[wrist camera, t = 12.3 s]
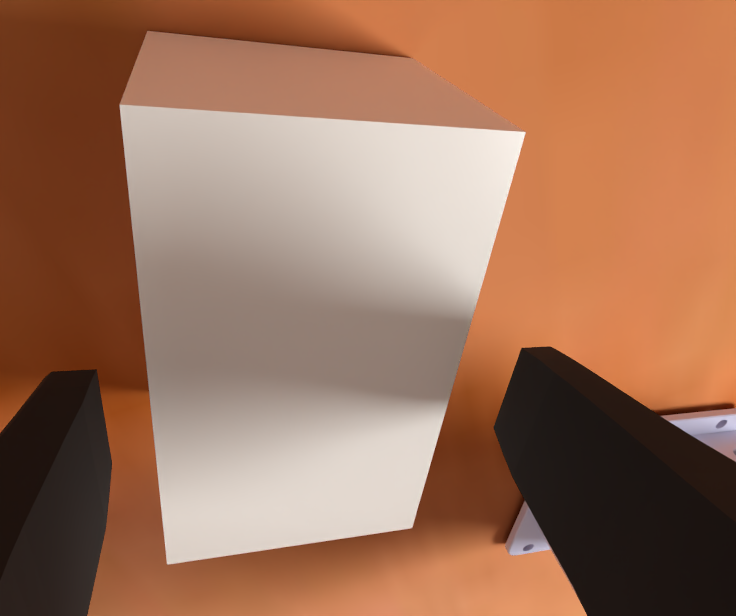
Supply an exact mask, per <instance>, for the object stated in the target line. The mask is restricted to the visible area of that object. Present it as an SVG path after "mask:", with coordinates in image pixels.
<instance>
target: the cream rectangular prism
mask: <svg viewBox="0 0 736 616" xmlns="http://www.w3.org/2000/svg"><path fill="white" fill-rule="evenodd" d="M119 105H120V115H121V124H122V134H123V144H124V153H125V163H126V172H127V182H128V192H129V201H130V211H131V221H132V230H133V240H134V250H135V259H136V269H137V279H138V288H139V298H140V308H141V317H142V327H143V337H144V346H145V356H146V366H147V375H148V385H149V394H150V404H151V414H152V423H153V433H154V443H155V452H156V462H157V472H158V481H159V491H160V501H161V510H162V520H163V530H164V539H165V549H166V559H167V565H168V564H175V563H182V562H188V561H195V560H202V559H209V558H215V557H222V556H229V555H235V554H242V553H249V552H256V551H262V550H269V549H276V548H282V547H289V546H296V545H303V544H309V543H316V542H323V541H329V540H336V539H343V538H350V537H356V536H363V535H370V534H376V533H383V532H390V531H397V530H403V529H410V528H412V527H413V523H414V520H415V516H416V513H417V509H418V506H419V502H420V499H421V495H422V492H423V489H424V485H425V482H426V478H427V475H428V471H429V468H430V464H431V461H432V457H433V454H434V450H435V447H436V443H437V440H438V436H439V433H440V429H441V426H442V422H443V419H444V415H445V412H446V408H447V405H448V401H449V398H450V394H451V391H452V387H453V384H454V380H455V377H456V373H457V370H458V366H459V363H460V359H461V356H462V353H463V349H464V346H465V342H466V339H467V335H468V332H469V328H470V325H471V321H472V318H473V314H474V311H475V307H476V304H477V300H478V297H479V293H480V290H481V286H482V283H483V279H484V276H485V272H486V269H487V265H488V262H489V258H490V255H491V251H492V248H493V244H494V241H495V237H496V234H497V230H498V227H499V223H500V220H501V217H502V213H503V210H504V206H505V203H506V199H507V196H508V192H509V189H510V185H511V182H512V178H513V175H514V171H515V168H516V164H517V161H518V157H519V154H520V150H521V147H522V143H523V140H524V136H525V133H526V132H525V131H523V130H522V129H520V128H519V127H517V126H516V125H514V124H513V123H511V122H510V121H508V120H507V119H505V118H503V117H502V116H500V115H499V114H497V113H496V112H494V111H493V110H491V109H490V108H488V107H487V106H485V105H484V104H482V103H481V102H479V101H477V100H476V99H474V98H473V97H471V96H470V95H468V94H467V93H465V92H464V91H462V90H461V89H459V88H458V87H456V86H455V85H453V84H451V83H450V82H448V81H447V80H445V79H444V78H442V77H441V76H439V75H438V74H436V73H435V72H433V71H432V70H430V69H429V68H427V67H425V66H424V65H422V64H421V63H419V62H418V61H416V60H415V59H413V58H406V57H396V56H387V55H377V54H367V53H358V52H348V51H338V50H329V49H319V48H309V47H299V46H290V45H280V44H270V43H261V42H251V41H241V40H232V39H222V38H212V37H203V36H193V35H183V34H174V33H164V32H154V31H147V33H146V36H145V38H144V41H143V44H142V46H141V49H140V52H139V54H138V57H137V60H136V62H135V65H134V67H133V70H132V73H131V75H130V78H129V81H128V83H127V86H126V89H125V91H124V94H123V97H122V99H121V102H120V104H119Z"/></svg>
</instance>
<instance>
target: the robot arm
mask: <svg viewBox="0 0 736 616" xmlns="http://www.w3.org/2000/svg"><path fill="white" fill-rule="evenodd" d="M494 430H495V433H496V436H497V438H498V441H499V444H500V447H501V449H502V452H503V455H504V457H505V460H506V462H507V465H508V467H509V470H510V472H511V474H512V477H513V479H514V481H515V483H516V484H517V486H518V488H519V490H520V492H521V494H522V496H523V498H524V499H525V501H524V503H523V506H522V508H521V510H520V512H519V515H518V517H517V519H516V521H515V524H514V526H513V528H512V530H511V533H510V535H509V537H508V539H507V542H506V544H505V547H506V549H507V552H508V553H509V554H510V555H520V554H526V553H532V552H538V551H543V550H549V549H551V551H552V553H553V554H554V556H555V558H556V560H557V561H558V563H559V565H560V567H561V568H562V570H563V572H564V574H565V576H566V577H567V579H568V581H569V583H570V584H571V586H572V588H573V590H574V591H575V593H576V595H577V597H578V599H579V600H580V602H581V604H582V606H583V608H584V610H585V612H586V614H587V616H736V408H732V409H722V410H713V411H703V412H693V413H683V414H673V415H664V416H659V415H658V414H656V413H655V412H653V411H652V410H650V409H649V408H647V407H646V406H644V405H642V404H641V403H639V402H638V401H636V400H635V399H633V398H632V397H630V396H629V395H627V394H626V393H624V392H623V391H621V390H619V389H618V388H616V387H615V386H613V385H612V384H610V383H609V382H607V381H606V380H604V379H603V378H601V377H600V376H598V375H597V374H595V373H593V372H592V371H590V370H589V369H587V368H586V367H584V366H583V365H581V364H579V363H578V362H576V361H575V360H573V359H571V358H570V357H568V356H566V355H565V354H563V353H561V352H559V351H558V350H556V349H554V348H552V347H532V348H522V349H521V351H520V354H519V357H518V360H517V363H516V366H515V368H514V371H513V374H512V377H511V380H510V383H509V385H508V388H507V391H506V394H505V397H504V400H503V402H502V405H501V408H500V411H499V414H498V417H497V419H496V422H495V425H494ZM111 469H112V460H111V454H110V448H109V442H108V436H107V430H106V424H105V418H104V412H103V406H102V400H101V393H100V387H99V381H98V375H97V370H77V371H57V372H51V373H50V374H48V375H47V376H46V377H45V378H44V379H43V380H42V382H41V383H40V384H39V385H38V387H37V388H36V389H35V391H34V392H33V393H32V394H31V396H30V397H29V398H28V400H27V401H26V402H25V403H24V405H23V406H22V407H21V408H20V410H19V411H18V412H17V413H16V415H15V416H14V417H13V418H12V420H11V421H10V422H9V423H8V425H7V426H6V427H5V428H4V429H3V431H2V432H1V433H0V616H87V614H88V609H89V605H90V600H91V595H92V591H93V586H94V582H95V577H96V572H97V567H98V563H99V558H100V553H101V549H102V544H103V539H104V534H105V529H106V523H107V513H108V503H109V492H110V481H111Z"/></svg>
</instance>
